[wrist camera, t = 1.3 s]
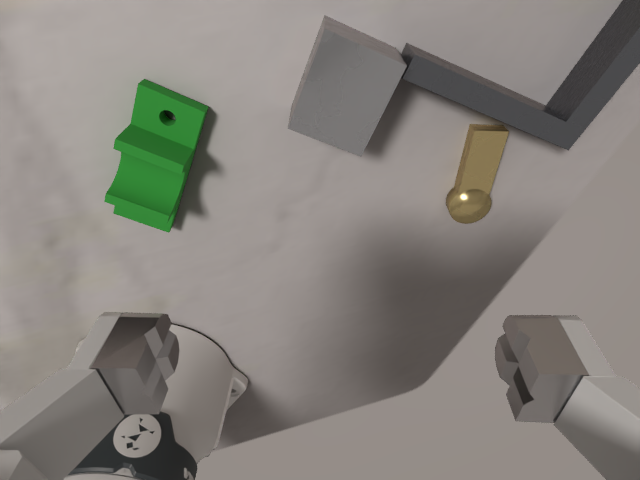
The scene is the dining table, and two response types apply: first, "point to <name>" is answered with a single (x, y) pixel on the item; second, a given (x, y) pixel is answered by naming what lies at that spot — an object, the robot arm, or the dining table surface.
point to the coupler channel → (569, 100)
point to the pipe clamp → (155, 156)
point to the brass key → (476, 173)
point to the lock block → (345, 87)
